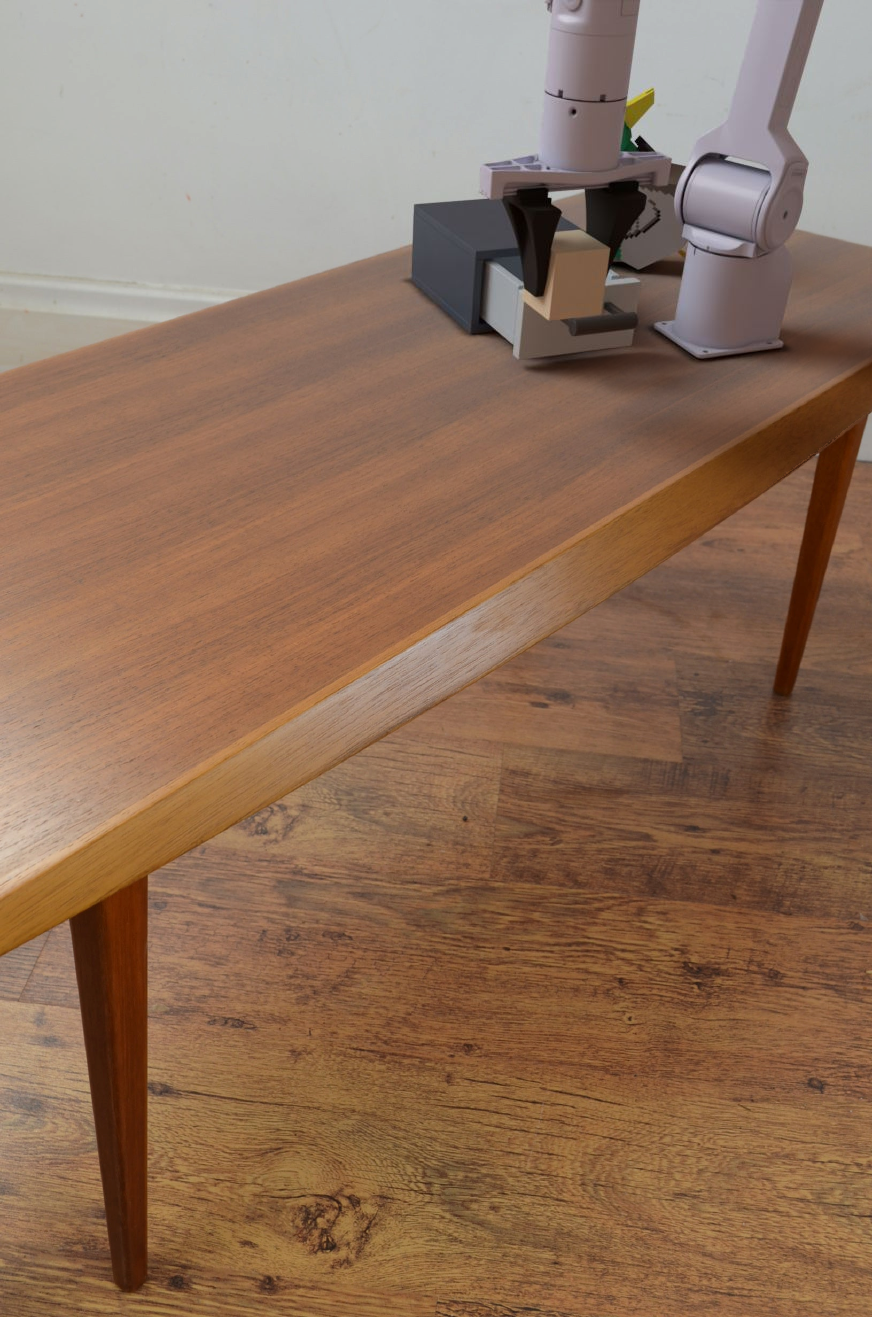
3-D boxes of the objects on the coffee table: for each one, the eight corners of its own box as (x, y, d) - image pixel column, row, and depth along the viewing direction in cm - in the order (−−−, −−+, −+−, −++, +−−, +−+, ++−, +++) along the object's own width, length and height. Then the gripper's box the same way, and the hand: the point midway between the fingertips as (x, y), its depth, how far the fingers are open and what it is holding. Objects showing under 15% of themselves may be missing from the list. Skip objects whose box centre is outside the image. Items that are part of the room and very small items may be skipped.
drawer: (658, 364, 100) (669, 299, 97) (542, 380, 96) (549, 313, 93) (561, 293, 113) (568, 233, 110) (455, 305, 109) (459, 243, 106)
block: (572, 294, 90) (580, 229, 87) (601, 314, 87) (610, 247, 84) (521, 299, 89) (527, 234, 86) (549, 321, 86) (556, 253, 83)
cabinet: (589, 319, 110) (599, 239, 106) (470, 334, 106) (475, 251, 102) (521, 269, 121) (528, 194, 116) (411, 281, 117) (413, 203, 112)
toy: (770, 214, 117) (632, 67, 111) (647, 335, 124) (513, 203, 119) (761, 202, 122) (630, 61, 116) (644, 318, 130) (515, 191, 124)
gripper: (645, 76, 84) (619, 262, 92) (465, 84, 79) (455, 280, 88) (699, 98, 79) (666, 292, 87) (510, 108, 74) (495, 313, 82)
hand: (563, 288), depth 87 cm, fingers closed on block, 4 cm apart
